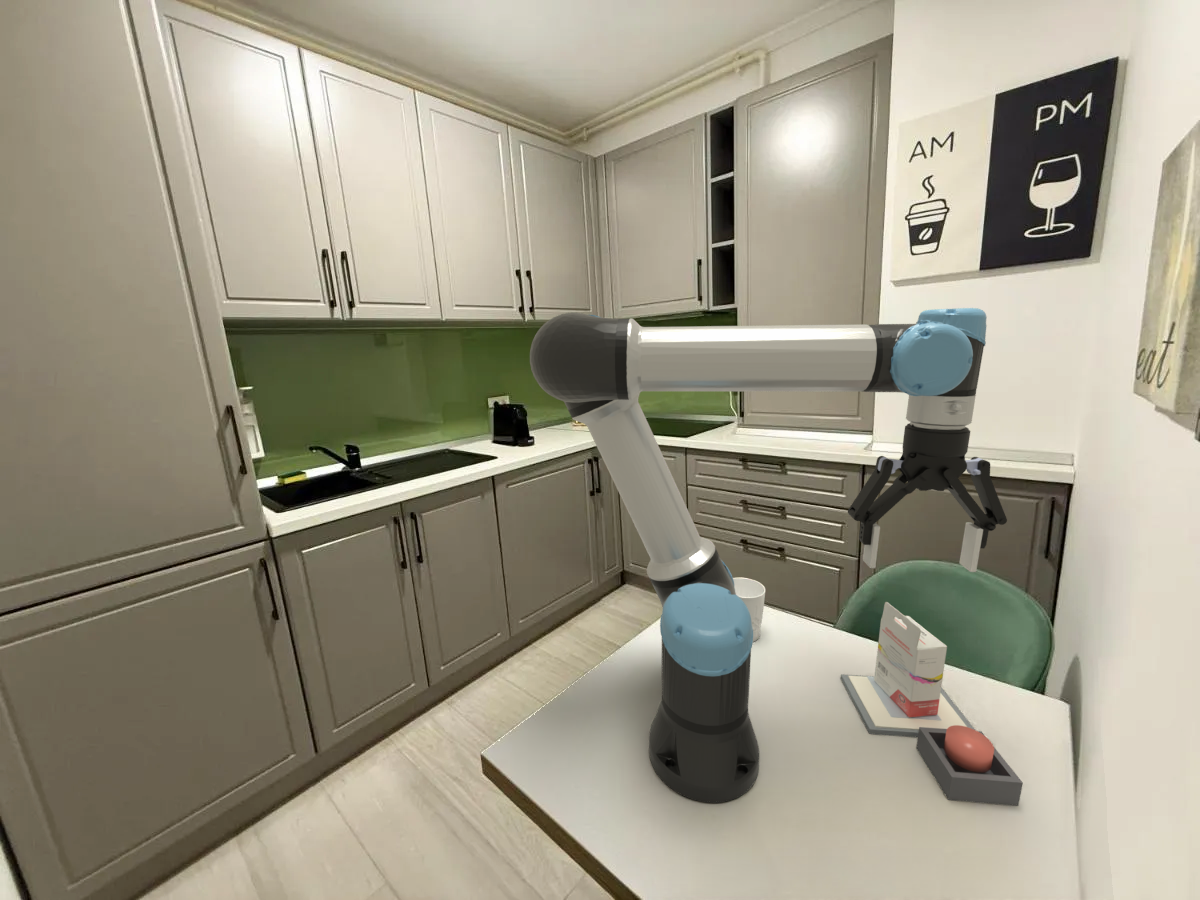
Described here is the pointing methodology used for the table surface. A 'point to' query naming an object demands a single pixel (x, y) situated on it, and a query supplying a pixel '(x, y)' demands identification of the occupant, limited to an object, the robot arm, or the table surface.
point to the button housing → (968, 773)
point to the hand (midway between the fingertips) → (917, 566)
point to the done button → (969, 748)
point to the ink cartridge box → (909, 664)
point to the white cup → (752, 601)
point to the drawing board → (896, 710)
